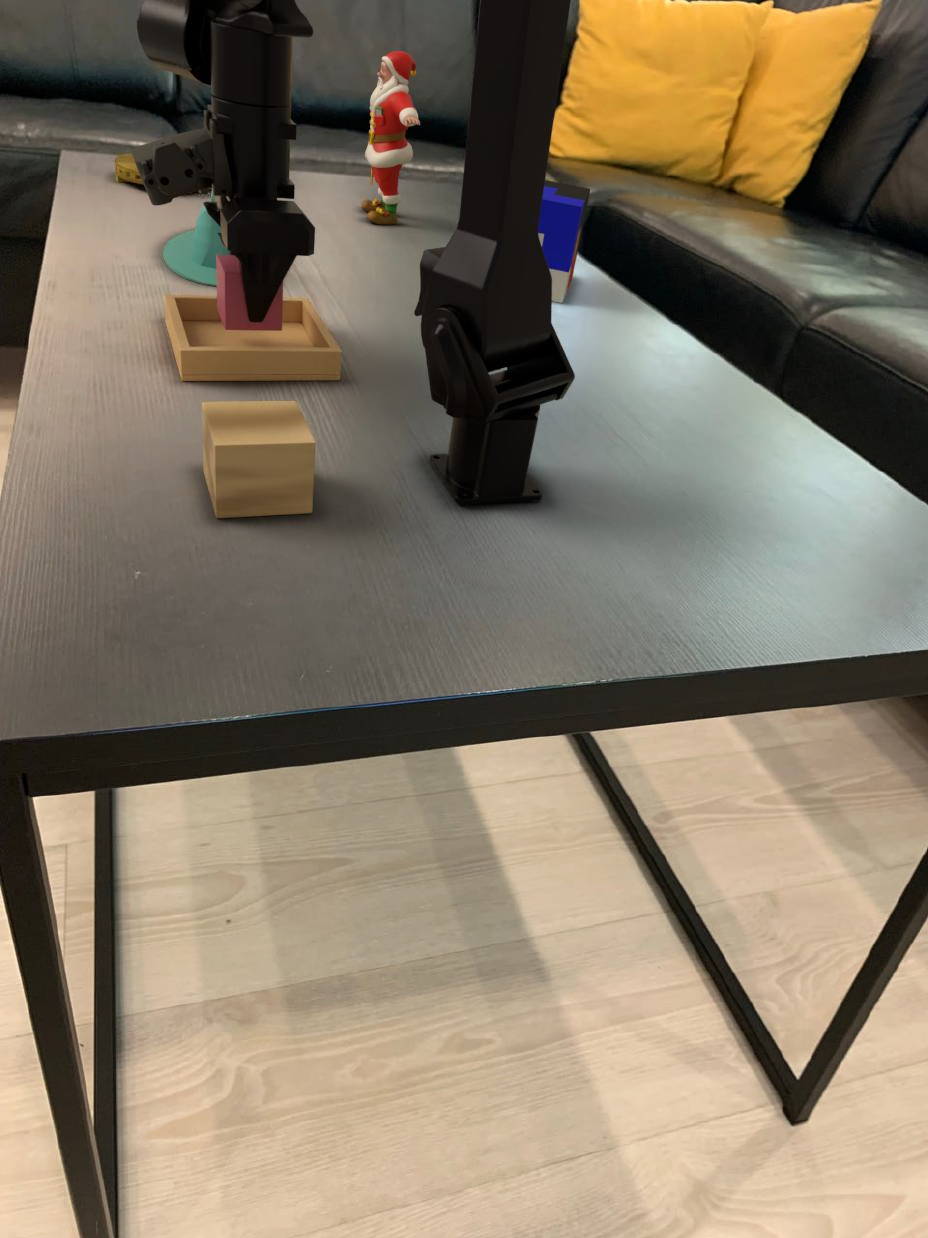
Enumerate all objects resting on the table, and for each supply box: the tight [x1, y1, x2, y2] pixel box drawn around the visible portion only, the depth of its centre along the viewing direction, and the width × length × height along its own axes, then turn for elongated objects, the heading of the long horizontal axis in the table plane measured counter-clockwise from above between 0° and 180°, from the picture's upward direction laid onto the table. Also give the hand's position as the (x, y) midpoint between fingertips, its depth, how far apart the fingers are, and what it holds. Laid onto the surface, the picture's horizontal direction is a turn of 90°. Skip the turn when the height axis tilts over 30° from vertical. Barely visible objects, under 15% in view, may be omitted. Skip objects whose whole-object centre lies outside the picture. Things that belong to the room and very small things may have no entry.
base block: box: [201, 400, 317, 519], centre depth 59 cm, size 6×6×5 cm
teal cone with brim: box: [162, 188, 229, 287], centre depth 97 cm, size 12×20×9 cm, turn 7°
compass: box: [114, 152, 212, 191], centre depth 119 cm, size 12×12×2 cm
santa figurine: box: [361, 50, 421, 226], centre depth 116 cm, size 25×6×19 cm, turn 12°
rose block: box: [216, 255, 284, 331], centre depth 77 cm, size 5×5×5 cm
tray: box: [163, 293, 343, 382], centre depth 79 cm, size 13×13×2 cm
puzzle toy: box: [538, 179, 591, 304], centre depth 104 cm, size 10×10×10 cm
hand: (250, 310), depth 77 cm, fingers closed on rose block, 4 cm apart
